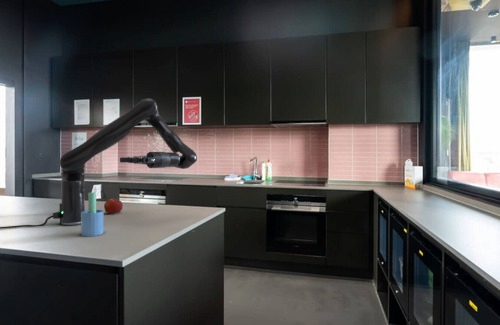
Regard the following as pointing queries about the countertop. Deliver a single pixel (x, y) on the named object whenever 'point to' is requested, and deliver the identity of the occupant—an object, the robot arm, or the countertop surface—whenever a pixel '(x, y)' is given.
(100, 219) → the cup
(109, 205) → the tomato
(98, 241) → the countertop surface
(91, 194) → the mint green tapered cylinder
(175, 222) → the countertop surface
